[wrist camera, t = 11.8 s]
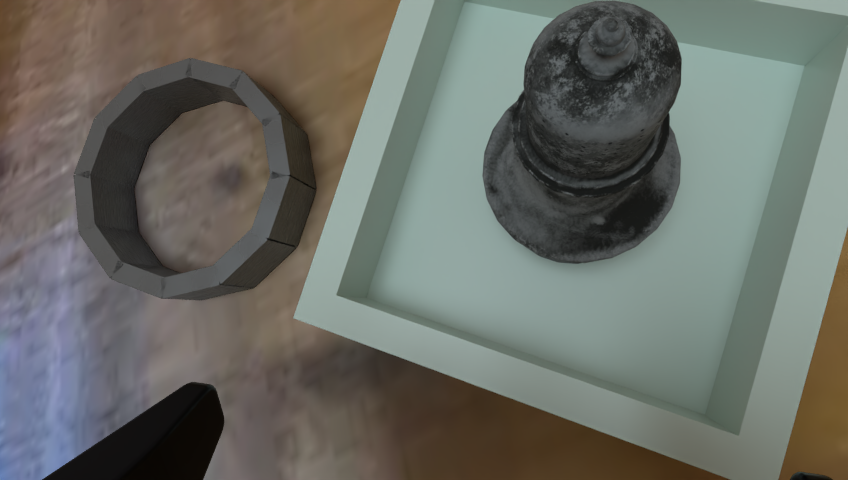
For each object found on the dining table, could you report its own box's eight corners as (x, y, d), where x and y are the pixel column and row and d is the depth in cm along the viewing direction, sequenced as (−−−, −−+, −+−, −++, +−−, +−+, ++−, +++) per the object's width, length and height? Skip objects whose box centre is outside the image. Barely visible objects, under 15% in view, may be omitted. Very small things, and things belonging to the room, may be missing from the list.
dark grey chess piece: (509, 106, 21) (469, -154, 9) (670, 128, 20) (855, -144, 8) (477, 254, 20) (393, 173, 9) (640, 287, 19) (793, 243, 7)
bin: (839, 51, 19) (913, -14, 16) (725, 457, 19) (773, 495, 15) (448, -19, 23) (429, -86, 19) (336, 317, 22) (293, 318, 18)
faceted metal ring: (342, 113, 23) (319, 89, 21) (270, 326, 23) (237, 328, 20) (162, 67, 26) (123, 41, 23) (92, 259, 25) (44, 253, 23)
